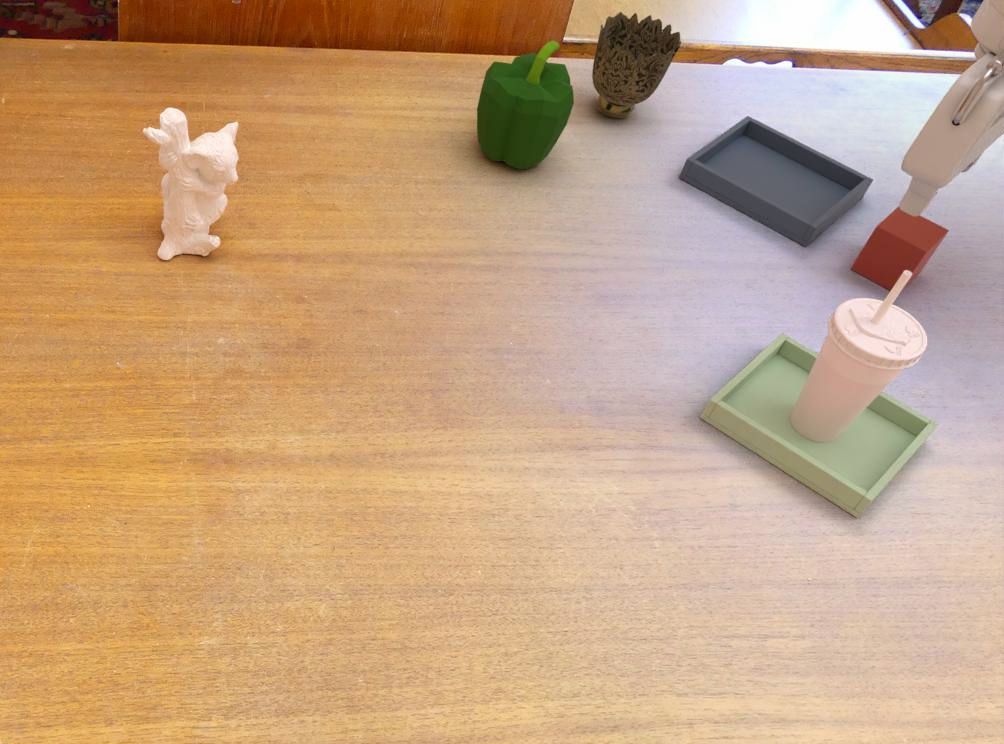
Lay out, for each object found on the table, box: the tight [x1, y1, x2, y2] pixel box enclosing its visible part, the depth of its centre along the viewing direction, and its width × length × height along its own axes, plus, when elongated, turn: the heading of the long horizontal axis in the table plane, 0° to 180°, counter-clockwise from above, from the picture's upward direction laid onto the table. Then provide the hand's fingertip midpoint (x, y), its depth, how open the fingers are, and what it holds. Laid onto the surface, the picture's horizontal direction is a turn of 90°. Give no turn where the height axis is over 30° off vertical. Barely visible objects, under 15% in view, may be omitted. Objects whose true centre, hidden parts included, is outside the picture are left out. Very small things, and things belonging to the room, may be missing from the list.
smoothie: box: [790, 270, 928, 443], centre depth 79 cm, size 6×6×14 cm
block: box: [850, 206, 950, 292], centre depth 95 cm, size 4×4×4 cm
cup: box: [591, 11, 682, 119], centre depth 106 cm, size 8×7×8 cm
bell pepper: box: [476, 40, 575, 170], centre depth 100 cm, size 8×8×10 cm
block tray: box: [678, 115, 874, 248], centre depth 103 cm, size 13×11×2 cm
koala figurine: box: [142, 107, 240, 261], centre depth 88 cm, size 8×7×12 cm
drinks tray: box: [699, 332, 939, 519], centre depth 84 cm, size 13×11×2 cm
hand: (935, 187), depth 90 cm, fingers open, 8 cm apart
